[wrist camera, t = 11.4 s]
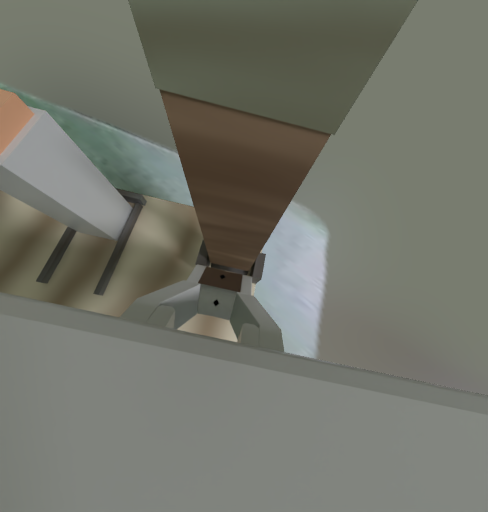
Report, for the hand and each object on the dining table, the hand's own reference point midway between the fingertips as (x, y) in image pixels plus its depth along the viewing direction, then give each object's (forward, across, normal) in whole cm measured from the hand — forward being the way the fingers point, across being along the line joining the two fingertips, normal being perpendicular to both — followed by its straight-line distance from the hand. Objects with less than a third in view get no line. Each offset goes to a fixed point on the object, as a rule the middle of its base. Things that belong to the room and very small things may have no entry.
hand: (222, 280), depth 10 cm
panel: (+9, +14, +6) cm, 18 cm away
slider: (+10, +14, +2) cm, 17 cm away
